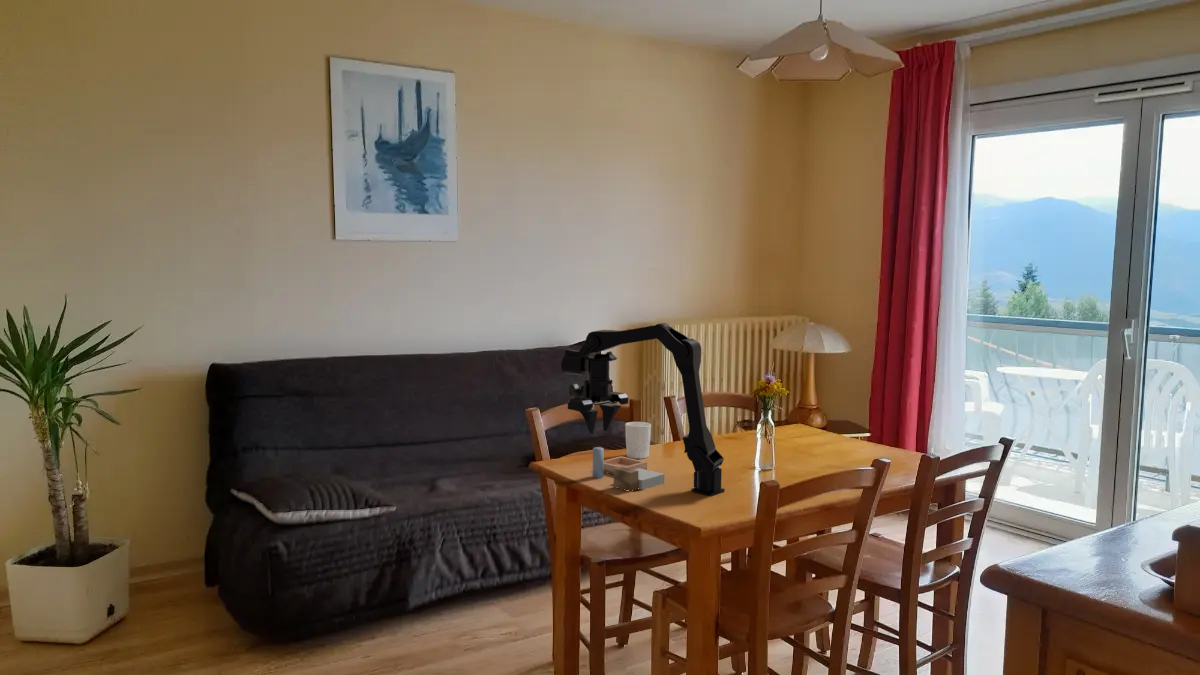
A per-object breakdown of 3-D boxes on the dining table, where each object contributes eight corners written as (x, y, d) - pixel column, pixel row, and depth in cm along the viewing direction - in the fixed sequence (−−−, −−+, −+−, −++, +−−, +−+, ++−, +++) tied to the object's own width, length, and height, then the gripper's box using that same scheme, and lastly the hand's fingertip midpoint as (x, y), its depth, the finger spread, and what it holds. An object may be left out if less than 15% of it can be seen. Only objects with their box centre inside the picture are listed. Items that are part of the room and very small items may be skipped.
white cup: (655, 455, 251) (655, 423, 251) (643, 460, 245) (643, 427, 244) (632, 452, 255) (632, 420, 255) (620, 457, 249) (620, 424, 248)
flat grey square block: (664, 484, 220) (664, 473, 219) (642, 491, 213) (642, 480, 213) (639, 478, 226) (639, 468, 226) (617, 485, 220) (617, 474, 219)
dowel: (605, 476, 226) (605, 448, 225) (598, 479, 224) (598, 450, 223) (597, 474, 228) (598, 446, 227) (590, 476, 226) (590, 448, 225)
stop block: (638, 489, 214) (638, 470, 213) (630, 491, 212) (630, 472, 211) (621, 484, 218) (621, 466, 217) (613, 487, 216) (613, 468, 215)
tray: (646, 470, 233) (647, 462, 233) (623, 476, 226) (623, 468, 226) (620, 464, 240) (621, 456, 240) (597, 470, 233) (597, 462, 233)
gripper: (600, 370, 235) (600, 423, 237) (553, 376, 222) (553, 432, 223) (629, 374, 228) (629, 429, 229) (582, 380, 214) (582, 439, 216)
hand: (598, 432), depth 225 cm, fingers open, 5 cm apart
